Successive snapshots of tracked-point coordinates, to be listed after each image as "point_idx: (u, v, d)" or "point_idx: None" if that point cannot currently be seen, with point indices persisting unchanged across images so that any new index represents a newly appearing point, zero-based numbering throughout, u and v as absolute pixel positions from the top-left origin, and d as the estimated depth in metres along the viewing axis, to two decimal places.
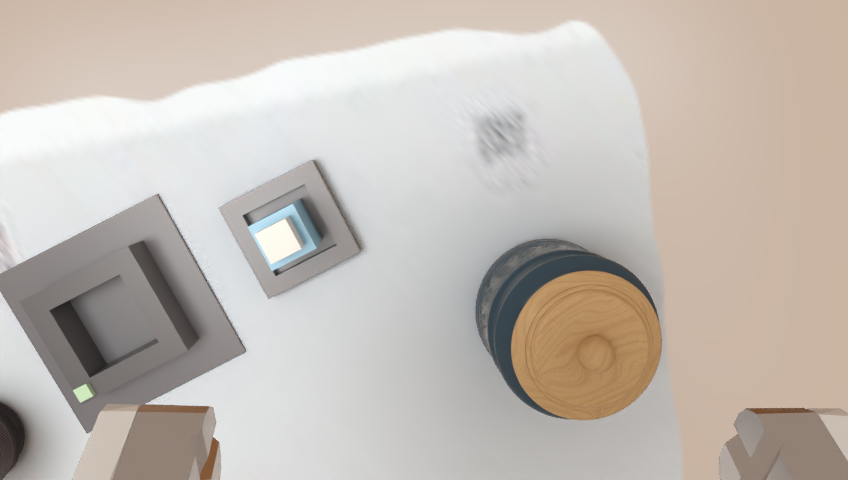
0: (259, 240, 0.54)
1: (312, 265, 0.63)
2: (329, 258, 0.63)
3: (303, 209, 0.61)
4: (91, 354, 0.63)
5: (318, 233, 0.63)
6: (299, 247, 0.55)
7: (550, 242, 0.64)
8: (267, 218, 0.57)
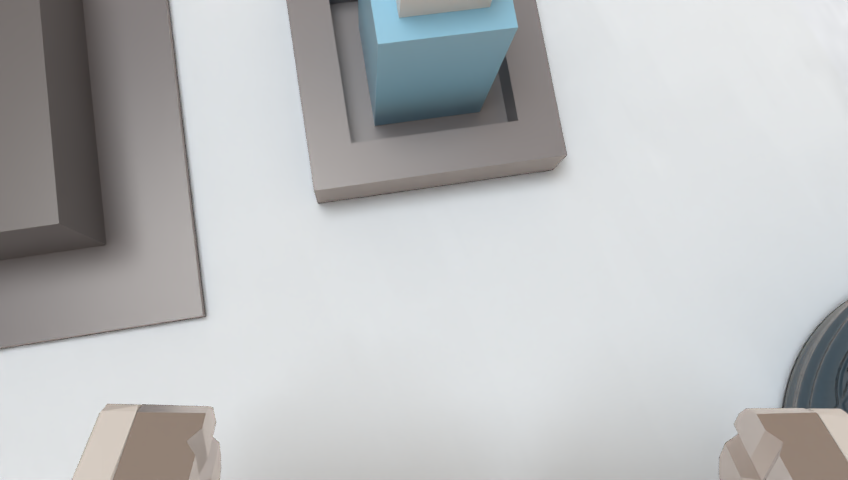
0: None
1: (446, 147, 0.25)
2: (490, 144, 0.25)
3: None
4: None
5: None
6: None
7: None
8: None
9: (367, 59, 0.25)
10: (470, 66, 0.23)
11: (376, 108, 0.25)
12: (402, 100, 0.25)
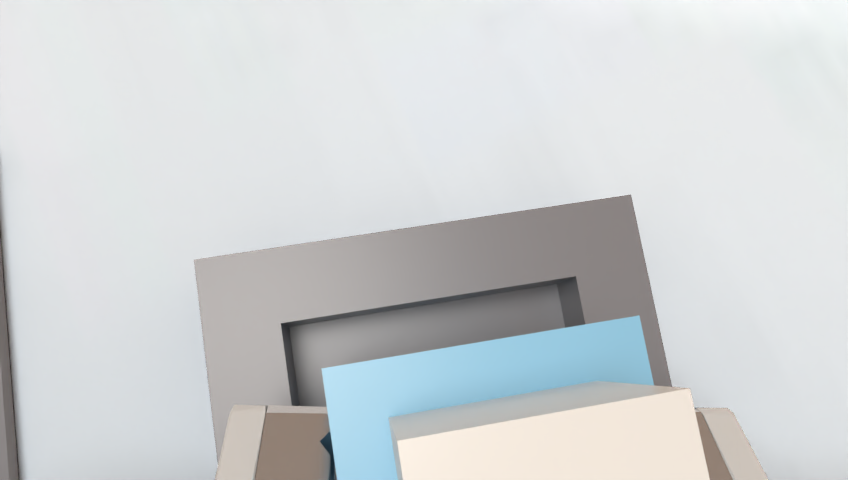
0: None
1: None
2: None
3: None
4: None
5: None
6: None
7: None
8: (461, 356, 0.09)
9: None
10: None
11: None
12: None
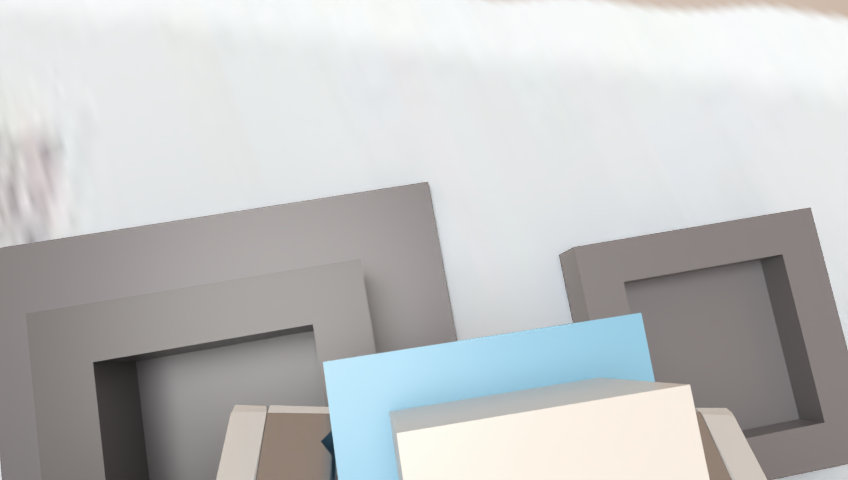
0: None
1: (755, 455, 0.25)
2: (799, 450, 0.25)
3: None
4: None
5: None
6: None
7: None
8: (462, 351, 0.09)
9: None
10: None
11: None
12: None
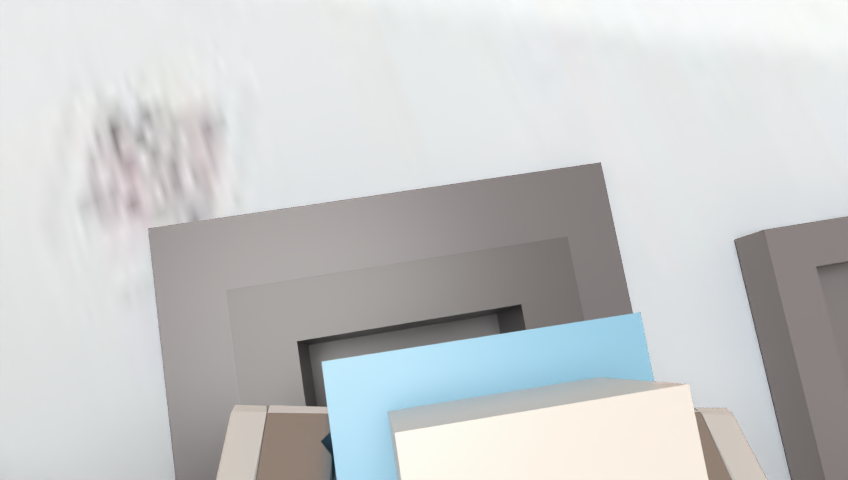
0: None
1: None
2: None
3: None
4: None
5: None
6: None
7: None
8: (461, 350, 0.09)
9: None
10: None
11: None
12: None
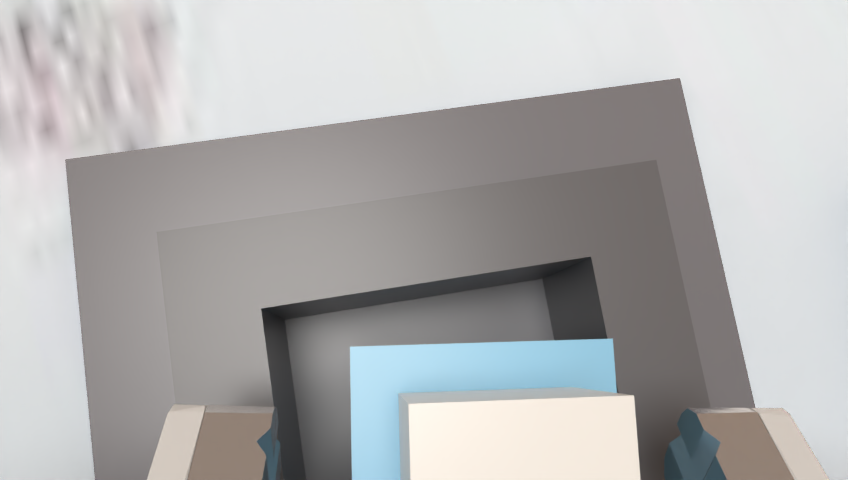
0: (420, 458, 0.08)
1: None
2: None
3: None
4: None
5: None
6: None
7: None
8: (463, 351, 0.11)
9: None
10: None
11: None
12: None
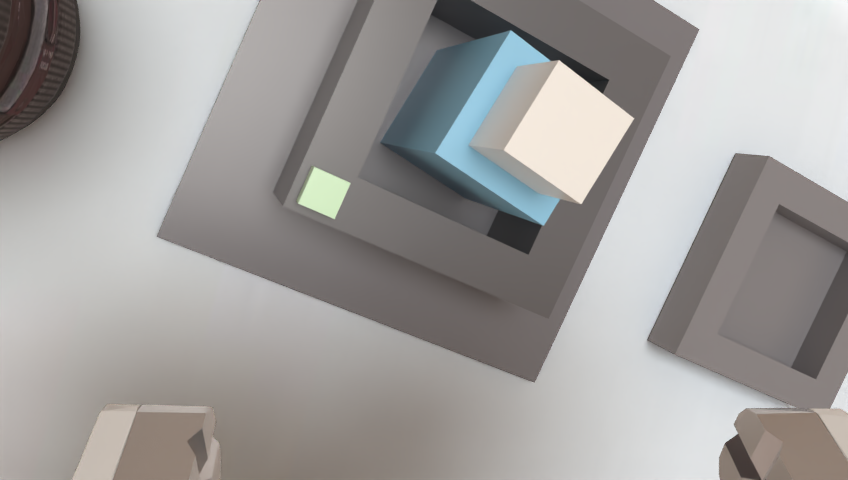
0: (550, 83, 0.18)
1: (766, 372, 0.31)
2: (790, 386, 0.32)
3: None
4: None
5: None
6: (582, 197, 0.19)
7: None
8: None
9: (419, 100, 0.25)
10: (487, 198, 0.23)
11: (392, 145, 0.25)
12: (416, 159, 0.25)
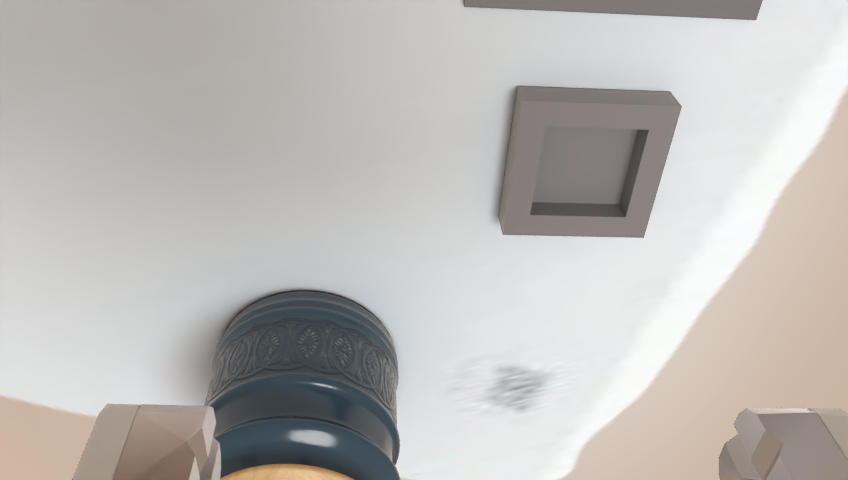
0: None
1: (526, 176, 0.43)
2: (520, 198, 0.43)
3: None
4: None
5: None
6: None
7: None
8: None
9: None
10: None
11: None
12: None
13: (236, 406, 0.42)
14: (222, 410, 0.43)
